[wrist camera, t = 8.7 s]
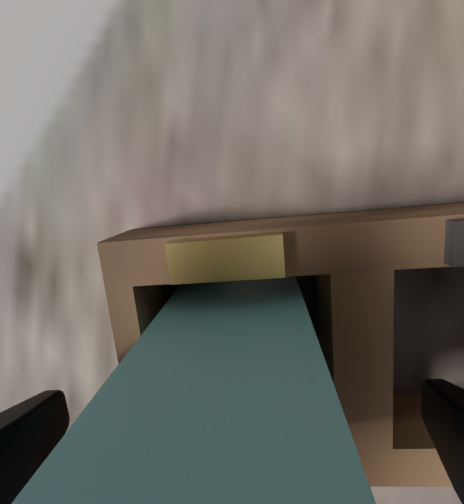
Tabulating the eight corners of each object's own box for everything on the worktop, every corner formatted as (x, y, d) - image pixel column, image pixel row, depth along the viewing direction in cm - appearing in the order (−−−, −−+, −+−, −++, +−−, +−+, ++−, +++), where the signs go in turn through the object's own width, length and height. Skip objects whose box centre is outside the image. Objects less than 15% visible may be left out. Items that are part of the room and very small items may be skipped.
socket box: (575, 193, 10) (696, 198, 7) (548, 422, 12) (639, 500, 9) (131, 229, 12) (89, 245, 9) (162, 429, 13) (135, 498, 10)
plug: (295, 275, 11) (405, 587, 3) (301, 379, 12) (403, 883, 3) (181, 283, 12) (-47, 577, 3) (195, 383, 13) (46, 844, 4)
